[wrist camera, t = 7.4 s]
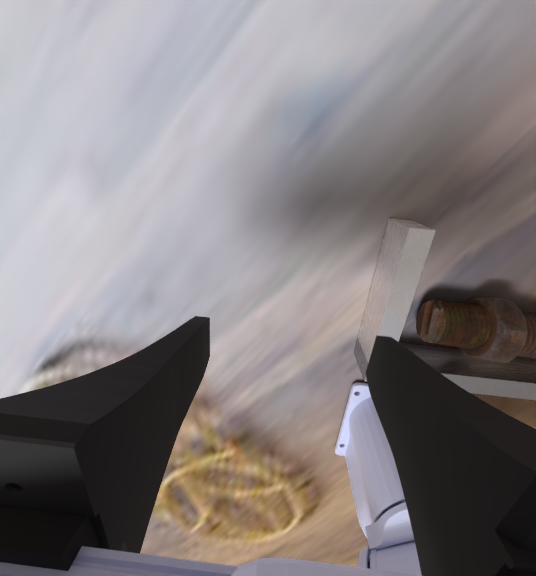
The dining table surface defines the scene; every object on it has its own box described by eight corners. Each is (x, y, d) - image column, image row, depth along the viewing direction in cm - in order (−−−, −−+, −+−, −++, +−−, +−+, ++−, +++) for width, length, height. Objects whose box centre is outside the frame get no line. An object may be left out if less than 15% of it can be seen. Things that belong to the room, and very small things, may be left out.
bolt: (407, 290, 23) (592, 316, 22) (402, 350, 22) (590, 378, 22) (452, 280, 17) (703, 315, 16) (446, 360, 16) (706, 400, 16)
